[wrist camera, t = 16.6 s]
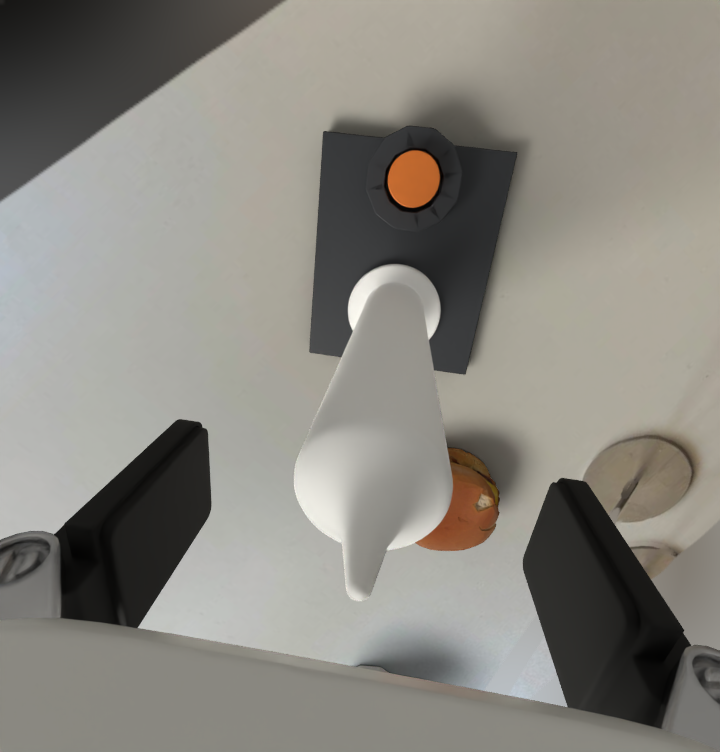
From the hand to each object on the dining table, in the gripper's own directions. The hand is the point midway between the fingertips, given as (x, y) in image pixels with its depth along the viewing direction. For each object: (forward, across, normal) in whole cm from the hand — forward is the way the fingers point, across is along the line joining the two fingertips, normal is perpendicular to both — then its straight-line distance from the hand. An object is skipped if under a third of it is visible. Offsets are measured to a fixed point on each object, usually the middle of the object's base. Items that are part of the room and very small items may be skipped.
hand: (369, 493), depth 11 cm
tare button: (+21, 0, -9) cm, 22 cm away
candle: (+22, 0, 0) cm, 22 cm away
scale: (+23, 0, -3) cm, 23 cm away
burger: (+23, -7, +17) cm, 30 cm away
